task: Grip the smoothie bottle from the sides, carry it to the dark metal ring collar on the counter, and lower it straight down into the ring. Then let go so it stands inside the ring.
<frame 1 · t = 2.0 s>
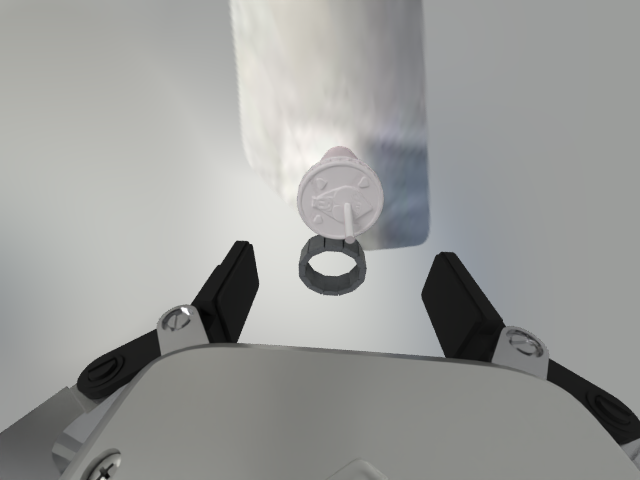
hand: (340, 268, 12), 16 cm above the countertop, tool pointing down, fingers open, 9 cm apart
smoothie: (338, 163, 25), on the countertop
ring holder: (332, 257, 32), on the countertop
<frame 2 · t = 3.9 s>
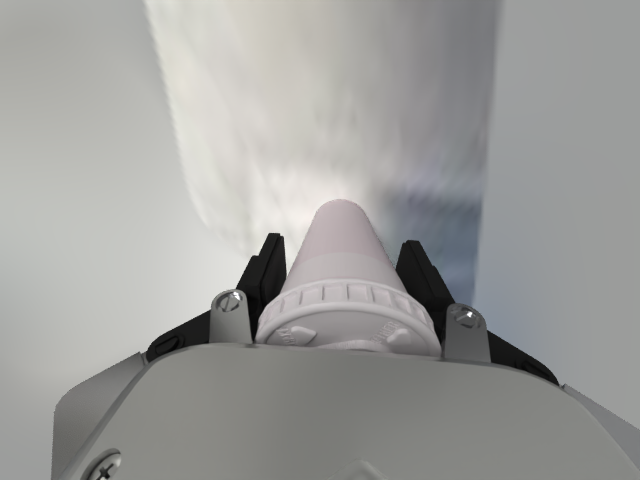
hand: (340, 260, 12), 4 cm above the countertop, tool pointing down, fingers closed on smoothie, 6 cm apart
smoothie: (339, 222, 16), on the countertop, touching gripper
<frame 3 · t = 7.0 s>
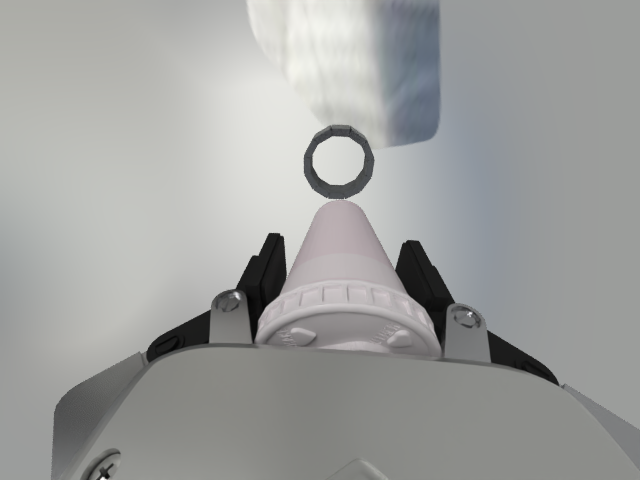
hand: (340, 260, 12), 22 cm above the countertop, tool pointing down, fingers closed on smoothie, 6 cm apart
smoothie: (339, 223, 16), point 18 cm above the countertop, touching gripper
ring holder: (338, 160, 31), on the countertop
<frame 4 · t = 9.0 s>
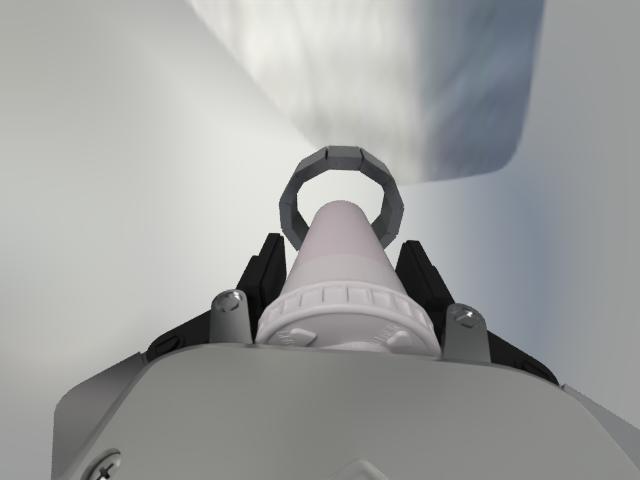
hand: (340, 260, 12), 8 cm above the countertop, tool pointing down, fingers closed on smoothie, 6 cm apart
smoothie: (339, 223, 16), point 3 cm above the countertop, touching gripper
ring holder: (339, 201, 19), on the countertop
when the fingers open (5 cm above the countertop, at t = 10.4 s): smoothie stays where it is, resting in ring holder.
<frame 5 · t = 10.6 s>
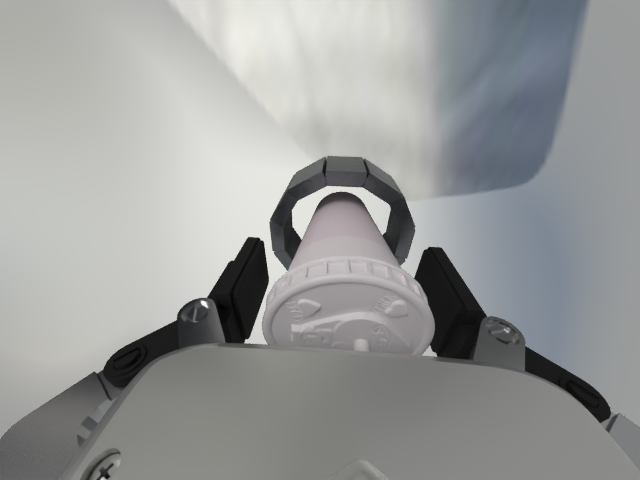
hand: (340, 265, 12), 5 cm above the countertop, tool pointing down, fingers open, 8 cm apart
smoothie: (340, 214, 17), resting in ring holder
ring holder: (339, 218, 17), on the countertop
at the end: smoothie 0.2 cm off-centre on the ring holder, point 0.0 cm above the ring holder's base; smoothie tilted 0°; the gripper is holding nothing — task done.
